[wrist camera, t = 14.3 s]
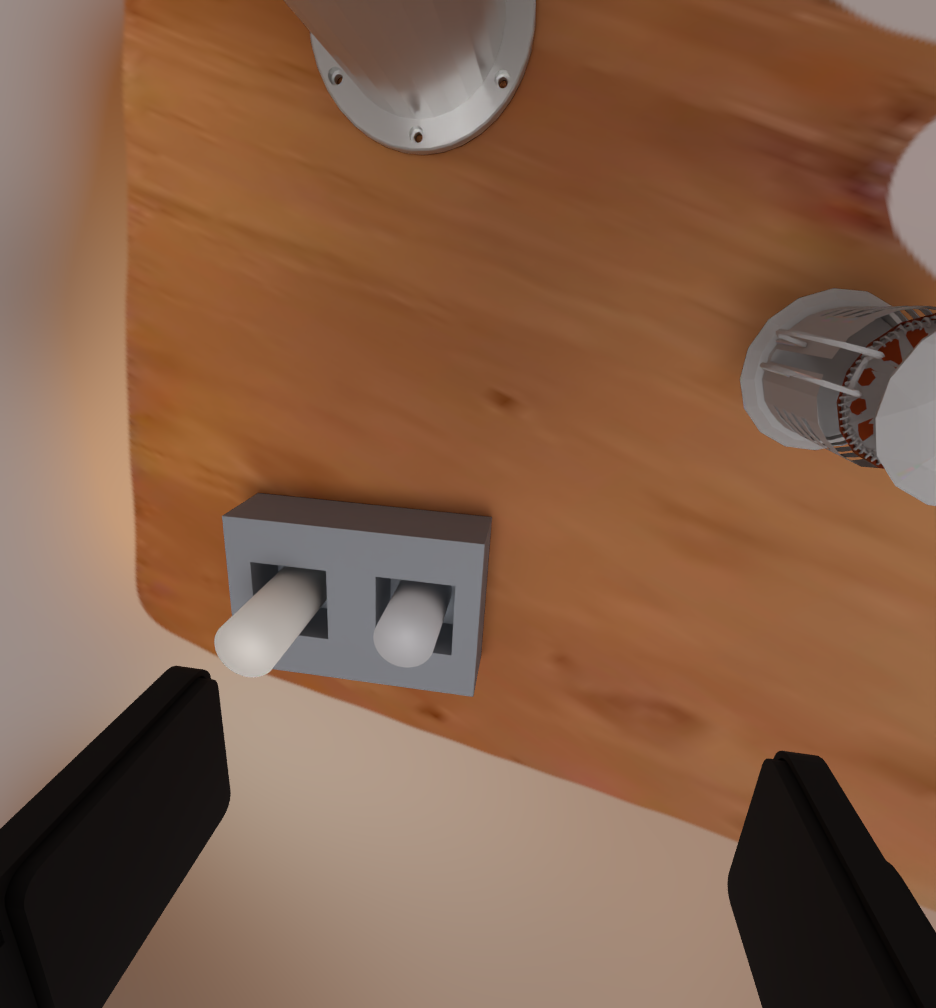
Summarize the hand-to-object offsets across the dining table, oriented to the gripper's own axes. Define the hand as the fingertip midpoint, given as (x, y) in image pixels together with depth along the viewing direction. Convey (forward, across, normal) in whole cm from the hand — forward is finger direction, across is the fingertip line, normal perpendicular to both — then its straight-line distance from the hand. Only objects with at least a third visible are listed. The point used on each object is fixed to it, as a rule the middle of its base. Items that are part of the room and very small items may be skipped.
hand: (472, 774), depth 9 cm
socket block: (+30, +11, +13) cm, 35 cm away
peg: (+29, +16, +13) cm, 36 cm away
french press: (+31, -17, -5) cm, 35 cm away
